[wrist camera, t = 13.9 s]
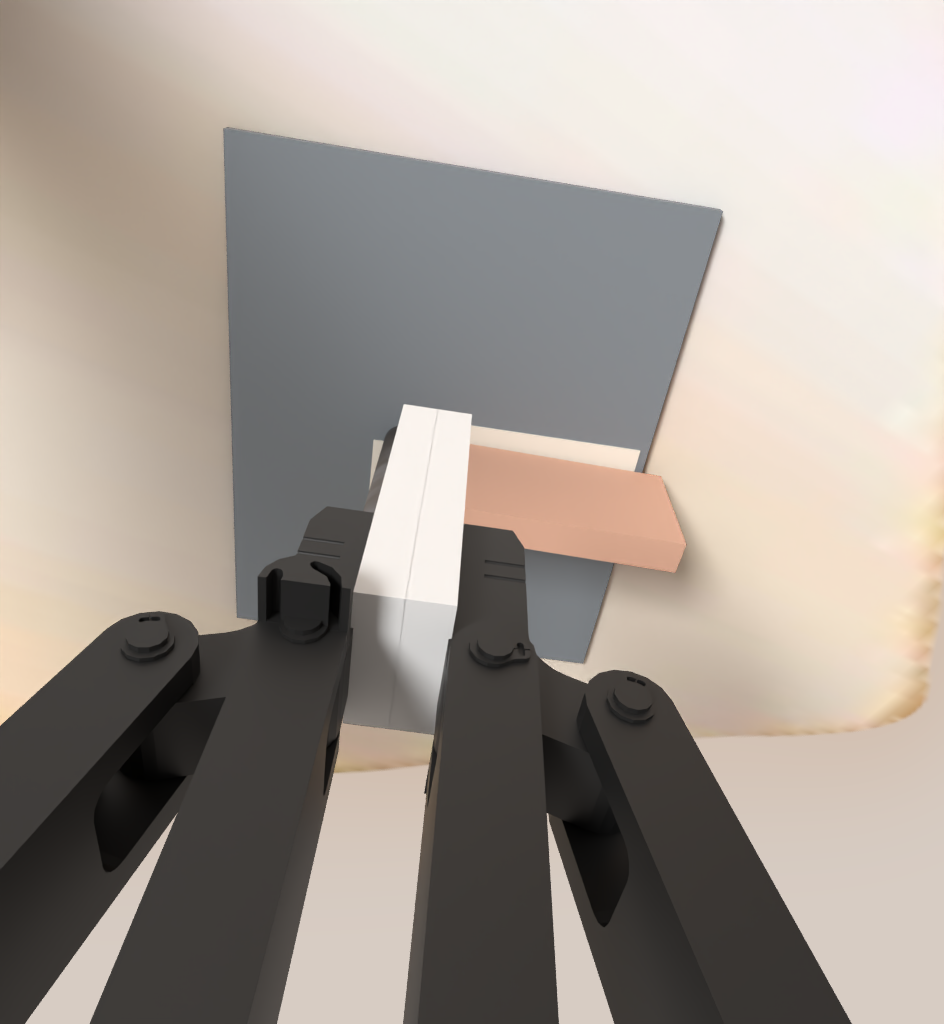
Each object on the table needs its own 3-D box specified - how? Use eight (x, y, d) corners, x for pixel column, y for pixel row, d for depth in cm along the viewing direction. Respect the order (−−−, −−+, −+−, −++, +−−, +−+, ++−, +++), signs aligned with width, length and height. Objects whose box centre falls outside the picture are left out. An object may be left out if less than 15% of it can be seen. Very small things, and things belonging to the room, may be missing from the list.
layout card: (240, 633, 52) (223, 670, 49) (227, 127, 35) (201, 134, 32) (575, 677, 53) (580, 716, 50) (719, 209, 36) (739, 224, 33)
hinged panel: (440, 438, 42) (430, 502, 37) (661, 476, 43) (686, 544, 37) (436, 466, 43) (425, 532, 37) (651, 502, 44) (675, 572, 38)
